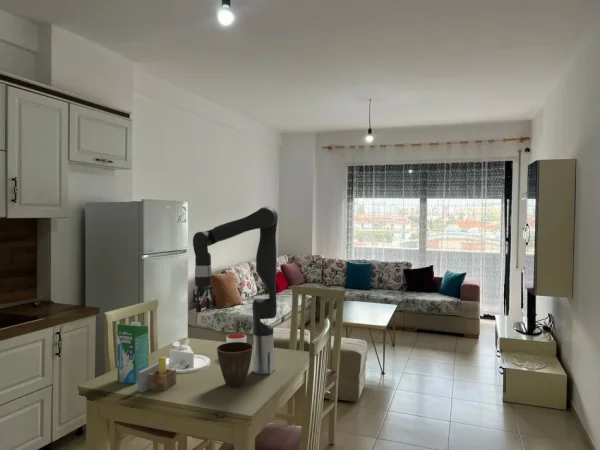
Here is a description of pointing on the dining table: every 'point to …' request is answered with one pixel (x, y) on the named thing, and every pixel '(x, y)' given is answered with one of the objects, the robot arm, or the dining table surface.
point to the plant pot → (234, 362)
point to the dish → (185, 359)
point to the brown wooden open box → (162, 380)
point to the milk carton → (131, 351)
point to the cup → (236, 338)
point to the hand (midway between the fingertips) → (203, 310)
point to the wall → (145, 376)
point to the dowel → (162, 365)
